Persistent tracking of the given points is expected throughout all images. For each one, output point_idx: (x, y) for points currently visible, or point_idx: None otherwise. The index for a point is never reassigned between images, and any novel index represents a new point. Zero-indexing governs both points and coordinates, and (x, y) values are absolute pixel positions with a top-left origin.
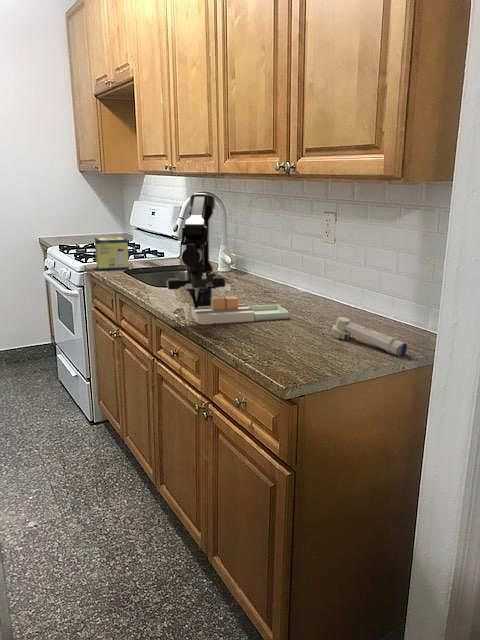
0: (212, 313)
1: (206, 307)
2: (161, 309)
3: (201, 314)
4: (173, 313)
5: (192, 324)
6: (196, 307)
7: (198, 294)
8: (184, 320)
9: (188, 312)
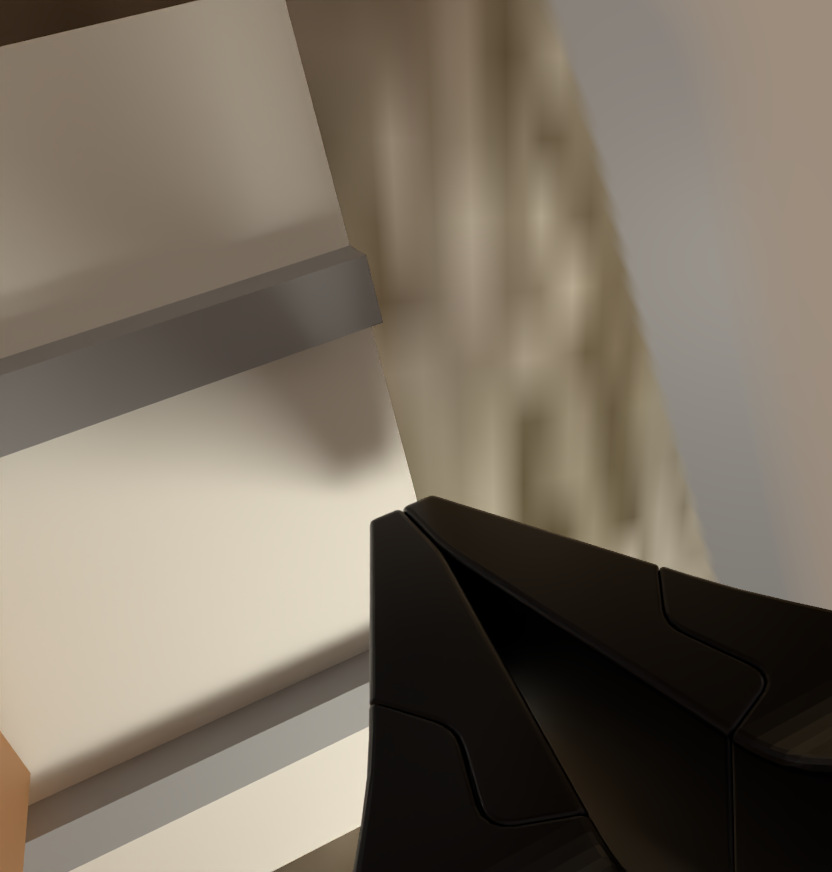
0: None
1: (156, 774)
2: None
3: (192, 154)
4: None
5: (366, 47)
6: (404, 512)
7: (557, 803)
8: (525, 359)
9: None
